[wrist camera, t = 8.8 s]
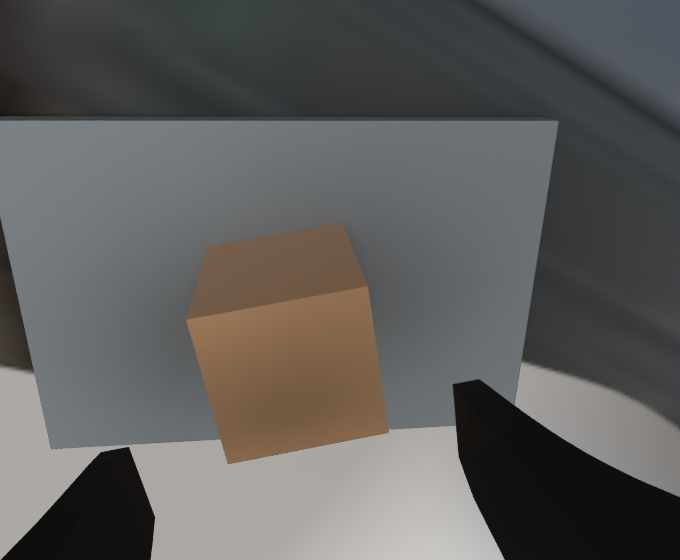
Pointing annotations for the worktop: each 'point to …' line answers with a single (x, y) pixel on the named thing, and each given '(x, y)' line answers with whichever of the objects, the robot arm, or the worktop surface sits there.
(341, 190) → the board
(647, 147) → the worktop surface
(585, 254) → the worktop surface
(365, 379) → the tan wooden cube
